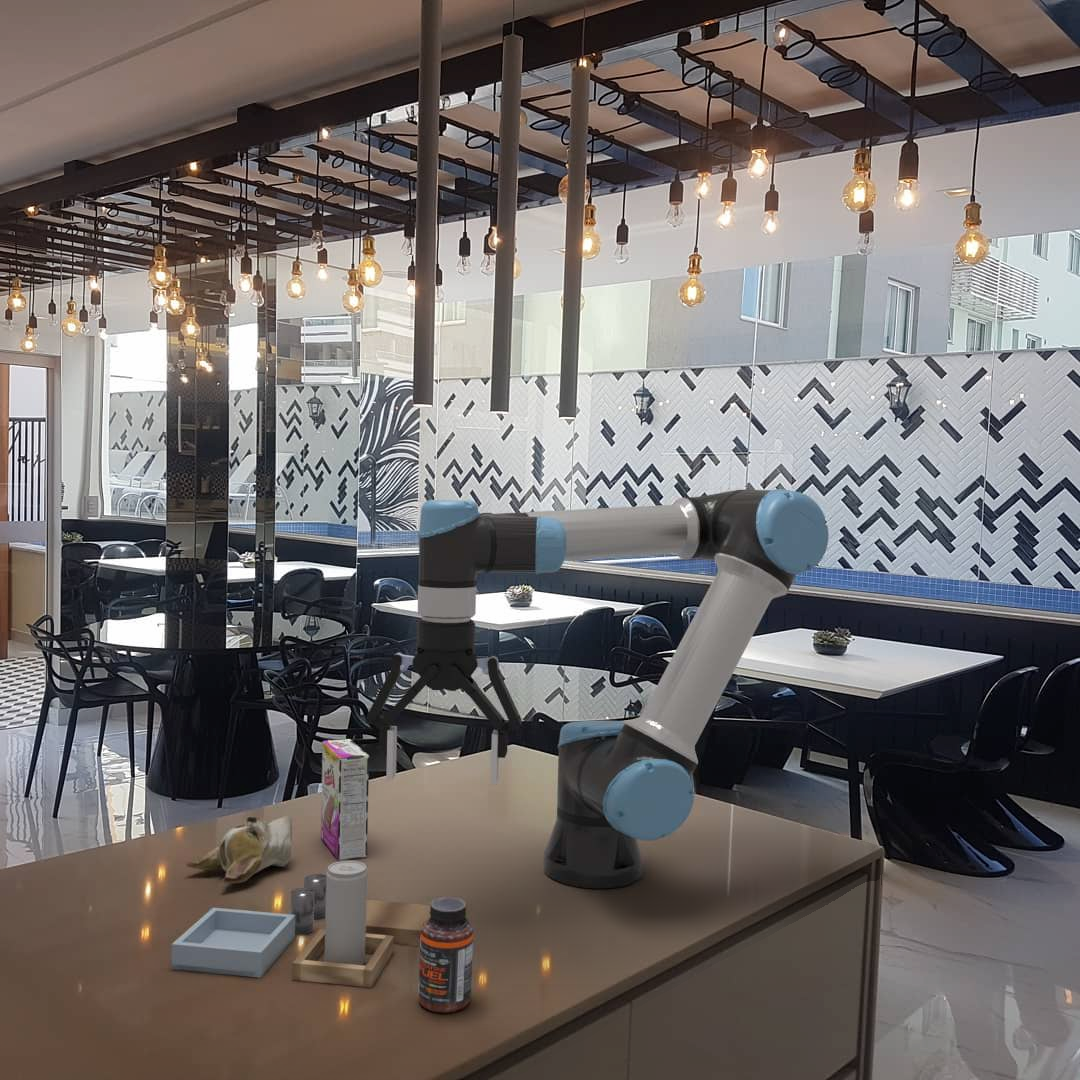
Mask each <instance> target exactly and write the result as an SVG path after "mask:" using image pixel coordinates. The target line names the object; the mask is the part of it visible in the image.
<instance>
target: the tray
mask: <svg viewBox="0 0 1080 1080" xmlns="http://www.w3.org/2000/svg"><path fill="white" fill-rule="evenodd" d="M295 937H296V935H295V915H291V914H290V913H289V914H288V913H280V912H279V913H277V912H268V911H267V912H265V911H256V910H255V911H254V910H246V909H244V910H243V909H232V908H221V907H211V909H209V911H208V912H206V913H204V915H203V916H202V917H200V919H199V920H198V921H196V922H195V923H194V924H192V925H191V926H190V928H188V929H187V930H186V931H184V933H183V934H181V935H180V936H179V937H178V938H177V939H176V940H175V941H173V943H171V967H170V968H171V970H177V971H178V970H179V971H185V972H187V971H188V972H197V973H199V972H200V973H206V974H207V973H208V974H218V975H219V974H221V975H228V976H229V975H230V976H239V977H248V978H249V977H250V978H260V979H261V978H262V977H263V976H264V975H265V973H266V972H267V971H268V970H269V969H270V968H271V966H272V965H273V964H274V963H275V962H276V960H277V959H278V958H279V957H280V956H281V955H282V954H283V953H284V952H285V950H286V949H287V947H289V946H290V944H292V942H293V941H294V940H295Z"/></svg>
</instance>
